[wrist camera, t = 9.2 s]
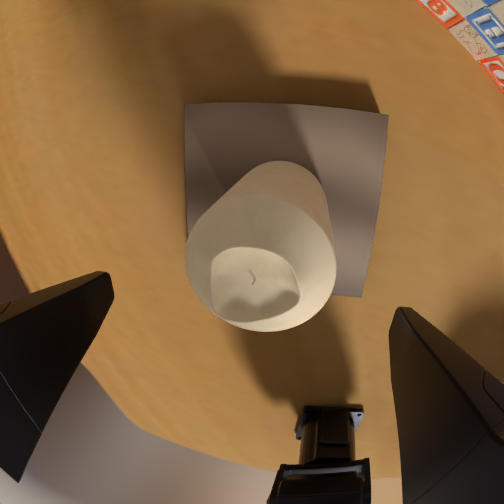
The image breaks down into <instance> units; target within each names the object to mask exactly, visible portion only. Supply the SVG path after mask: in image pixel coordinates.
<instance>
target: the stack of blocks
mask: <svg viewBox="0 0 504 504" xmlns="http://www.w3.org/2000/svg"><path fill="white" fill-rule="evenodd" d="M416 1H417V2H418V3H420V4H421V5H422V6H423V7H424V8H425V9H426V10H427V11H429V12H430V13H431V14H432V15H433V16H434V17H435V18H436V19H437V20H438V21H439V22H440V23H441V24H442V25H443V26H444V27H446V28H447V29H448V30H449V31H450V33H451V34H452V35H453V36H454V37H455V38H456V39H457V40H458V41H459V42H460V43H461V44H462V45H463V46H464V47H465V49H466V50H467V51H468V52H469V53H470V54H471V55H472V56H473V58H474V59H475V60H477V61H479V62H480V64H481V65H482V67H483V68H484V69H485V70H486V71H487V72H488V73H489V75H490V76H491V77H492V79H493V80H494V81H495V83H496V84H497V85H498V87H499V88H500V89H501V91H502V92H503V93H504V0H416Z"/></svg>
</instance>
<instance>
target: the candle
mask: <svg viewBox="0 0 504 504" xmlns="http://www.w3.org/2000/svg"><path fill="white" fill-rule="evenodd" d="M185 267H186V272H187V276H188V279H189V282H190V284H191V286H192V288H193V290H194V292H195V293H196V295H197V296H198V298H199V299H200V300H201V302H202V303H203V304H204V305H205V306H206V307H207V308H208V309H209V310H210V311H211V312H213V313H214V314H215V315H216V316H218V317H219V318H221V319H222V320H224V321H226V322H228V323H230V324H232V325H235V326H237V327H240V328H243V329H247V330H252V331H260V332H273V331H281V330H286V329H289V328H292V327H295V326H297V325H300V324H302V323H304V322H305V321H307V320H309V319H310V318H311V317H313V316H314V315H315V314H316V313H317V312H318V311H319V310H320V309H321V308H322V307H323V306H324V304H325V303H326V302H327V300H328V298H329V297H330V295H331V293H332V290H333V287H334V284H335V279H336V269H337V265H336V256H335V249H334V242H333V236H332V229H331V223H330V217H329V211H328V206H327V200H326V197H325V193H324V190H323V188H322V186H321V184H320V183H319V181H318V180H317V178H316V177H315V176H314V175H313V174H312V173H311V172H310V171H308V170H307V169H306V168H304V167H302V166H300V165H298V164H295V163H292V162H288V161H271V162H266V163H263V164H261V165H259V166H257V167H255V168H254V169H252V170H251V171H249V172H248V173H247V174H246V175H245V176H244V177H243V178H241V179H240V180H239V181H238V182H237V183H236V184H235V185H234V186H233V187H232V188H231V189H229V190H228V191H227V192H226V193H225V194H224V195H223V196H222V197H221V198H220V199H219V200H218V201H217V202H216V203H214V204H213V205H212V206H211V207H210V208H209V209H208V210H207V211H206V212H205V213H204V214H203V215H202V216H201V217H200V218H199V220H198V221H197V222H196V223H195V225H194V227H193V228H192V230H191V232H190V235H189V237H188V240H187V244H186V249H185Z"/></svg>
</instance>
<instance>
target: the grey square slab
mask: <svg viewBox="0 0 504 504" xmlns="http://www.w3.org/2000/svg"><path fill="white" fill-rule="evenodd" d="M184 125H185V181H186V207H187V227H188V237H189V235H190V232H191V230H192V228H193V227H194V225H195V223H196V222H197V221H198V220H199V218H200V217H201V216H202V215H203V214H204V213H205V212H206V211H207V210H208V209H209V208H210V207H211V206H212V205H213V204H214V203H216V202H217V201H218V200H219V199H220V198H221V197H222V196H223V195H224V194H225V193H226V192H227V191H228V190H229V189H231V188H232V187H233V186H234V185H235V184H236V183H237V182H238V181H239V180H240V179H241V178H243V177H244V176H245V175H246V174H247V173H248V172H249V171H251V170H252V169H254V168H255V167H257V166H259V165H261V164H263V163H266V162H271V161H288V162H292V163H295V164H298V165H300V166H302V167H304V168H306V169H307V170H308V171H310V172H311V173H312V174H313V175H314V176H315V177H316V178H317V180H318V181H319V183H320V184H321V186H322V188H323V190H324V193H325V197H326V200H327V206H328V211H329V217H330V223H331V229H332V236H333V242H334V249H335V256H336V265H337V269H336V279H335V284H334V287H333V290H332V293H331V295H338V296H349V297H360V298H361V297H362V292H363V288H364V283H365V279H366V274H367V269H368V265H369V260H370V254H371V249H372V244H373V238H374V233H375V227H376V221H377V214H378V208H379V201H380V194H381V187H382V179H383V170H384V162H385V152H386V141H387V129H388V115H386V114H380V113H373V112H366V111H359V110H352V109H343V108H334V107H325V106H313V105H300V104H283V103H253V102H223V103H193V104H185V112H184Z"/></svg>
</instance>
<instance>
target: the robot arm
mask: <svg viewBox="0 0 504 504" xmlns="http://www.w3.org/2000/svg"><path fill="white" fill-rule="evenodd" d="M113 300H114V291H113V286H112V281H111V277H110V275H109V273H107V272H102V271H96V272H93V273H90V274H87V275H84V276H81V277H78V278H75V279H72V280H69V281H66V282H63V283H60V284H57V285H54V286H51V287H48V288H45V289H42V290H39V291H37V292H34V293H31V294H28V295H25V296H22V297H20V298H17V299H14V300H12V301H8V302H5V303H2V304H0V469H1V470H2V471H3V472H5V473H6V474H7V475H8V476H10V477H11V478H12V479H13V480H15V481H16V482H17V483H19V481H20V480H21V478H22V475H23V473H24V471H25V468H26V466H27V464H28V462H29V460H30V458H31V455H32V453H33V451H34V449H35V447H36V445H37V443H38V441H39V438H40V436H41V434H42V432H43V430H44V428H45V426H46V424H47V422H48V420H49V418H50V416H51V414H52V412H53V410H54V409H55V407H56V405H57V403H58V401H59V399H60V397H61V395H62V394H63V392H64V390H65V388H66V386H67V385H68V383H69V381H70V379H71V377H72V376H73V374H74V372H75V370H76V369H77V367H78V365H79V363H80V362H81V360H82V358H83V357H84V355H85V353H86V352H87V350H88V348H89V347H90V345H91V343H92V342H93V340H94V338H95V337H96V335H97V333H98V331H99V329H100V327H101V325H102V323H103V321H104V319H105V317H106V315H107V313H108V311H109V309H110V307H111V305H112V303H113ZM389 349H390V368H391V383H392V390H393V397H394V404H395V411H396V419H397V428H398V437H399V448H400V460H401V474H402V494H403V504H504V385H503V384H502V383H501V382H500V381H499V380H498V379H496V378H495V377H494V376H493V375H492V374H491V373H489V372H488V371H487V370H484V367H482V366H481V365H480V364H479V363H478V362H477V361H475V360H474V359H473V358H472V357H471V356H470V355H468V354H467V353H466V352H465V351H464V350H462V349H461V348H460V347H459V346H458V345H456V344H455V343H454V342H453V341H452V340H450V339H449V338H448V337H447V336H446V335H444V334H443V333H442V332H441V331H439V330H438V329H437V328H436V327H435V326H433V325H432V324H431V323H430V322H428V321H427V320H426V319H425V318H423V317H422V316H421V315H420V314H418V313H417V312H416V311H414V310H413V309H412V308H410V307H398V308H397V309H396V311H395V314H394V317H393V320H392V323H391V326H390V330H389ZM363 416H364V410H362V409H340V408H324V407H311V406H306V407H304V408H303V410H302V414H301V418H300V422H299V426H298V430H297V433H296V439H297V440H301V447H300V456H299V464H296V465H287V464H281V465H280V469H279V470H278V472H277V475H276V478H275V481H274V484H273V487H272V490H271V494H270V495H269V497H268V499H267V504H371V478H370V462H369V458H364V459H362V460H355V432H356V430H357V428H358V426H359V424H360V422H361V420H362V418H363Z"/></svg>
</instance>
